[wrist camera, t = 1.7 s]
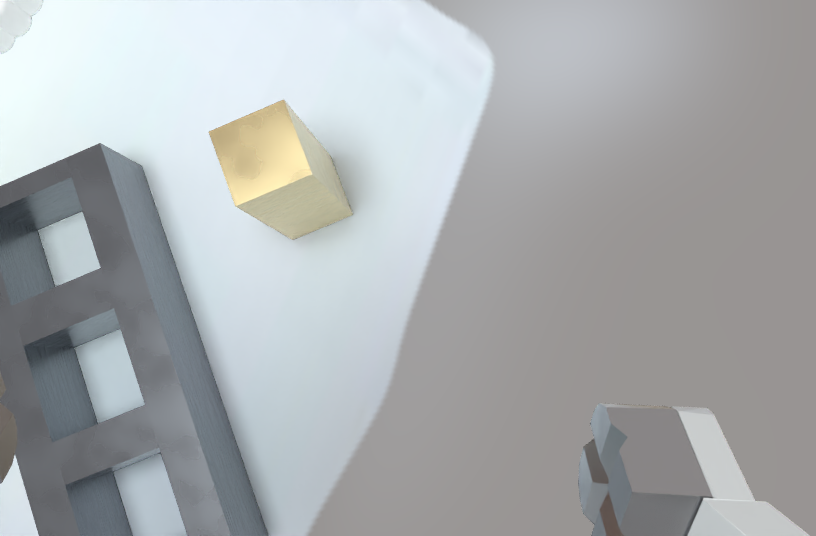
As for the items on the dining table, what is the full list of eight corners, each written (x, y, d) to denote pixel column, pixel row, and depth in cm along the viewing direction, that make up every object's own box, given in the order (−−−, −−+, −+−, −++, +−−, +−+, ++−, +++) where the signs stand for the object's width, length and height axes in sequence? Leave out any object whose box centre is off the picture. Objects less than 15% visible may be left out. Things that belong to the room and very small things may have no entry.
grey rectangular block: (268, 536, 44) (238, 558, 39) (113, 596, 44) (65, 625, 39) (141, 165, 48) (100, 143, 43) (1, 226, 48) (-56, 210, 43)
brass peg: (353, 214, 45) (312, 174, 36) (292, 239, 46) (235, 206, 36) (330, 155, 46) (283, 99, 36) (270, 180, 46) (208, 131, 37)
